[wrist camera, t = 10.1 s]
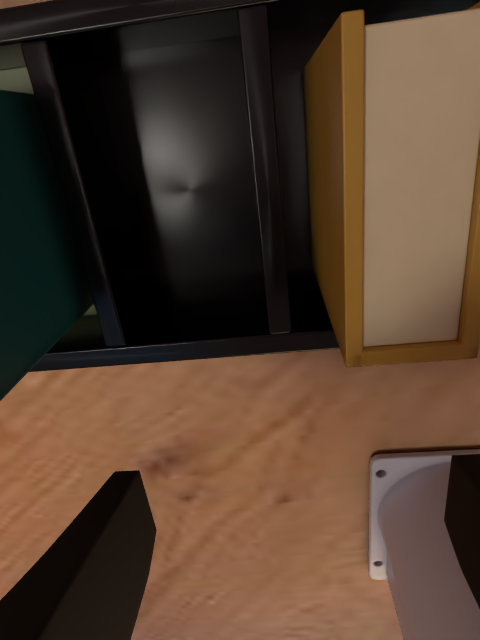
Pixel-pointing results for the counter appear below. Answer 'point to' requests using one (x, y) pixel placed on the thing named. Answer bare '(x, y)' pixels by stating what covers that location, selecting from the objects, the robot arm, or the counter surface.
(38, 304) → the teal book
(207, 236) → the caddy
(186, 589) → the counter surface
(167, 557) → the counter surface
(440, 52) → the mustard book
